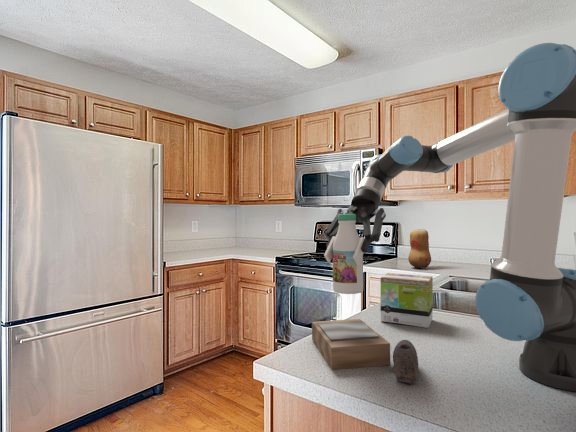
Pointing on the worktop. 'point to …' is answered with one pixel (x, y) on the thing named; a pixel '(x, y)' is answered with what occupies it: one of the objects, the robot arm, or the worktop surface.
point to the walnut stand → (350, 344)
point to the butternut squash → (419, 249)
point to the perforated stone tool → (405, 362)
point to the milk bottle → (346, 257)
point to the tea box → (407, 299)
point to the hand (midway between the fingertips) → (341, 259)
